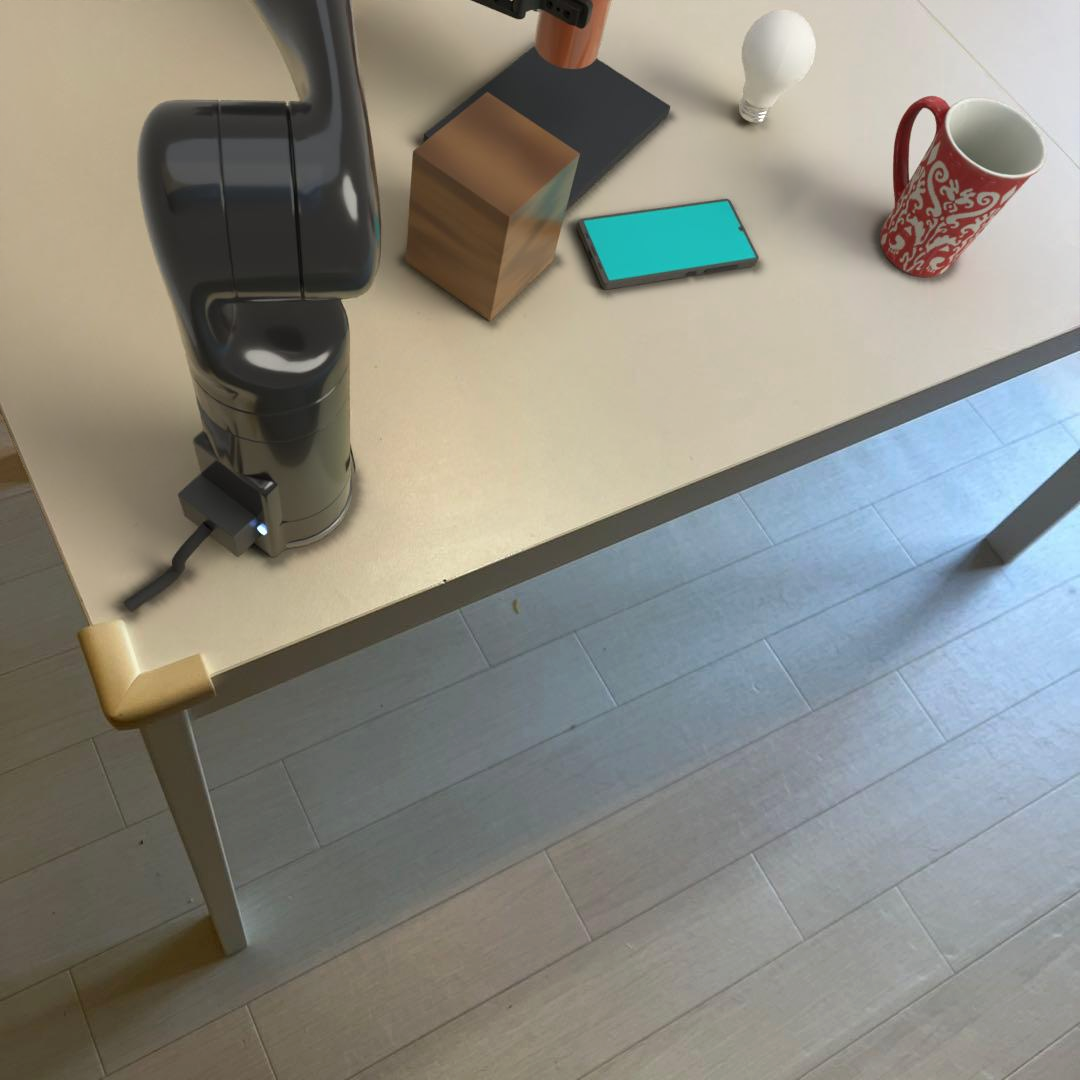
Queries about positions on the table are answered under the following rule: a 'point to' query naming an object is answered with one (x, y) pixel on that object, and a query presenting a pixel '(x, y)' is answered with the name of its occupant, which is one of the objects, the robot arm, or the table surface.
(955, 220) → the mug
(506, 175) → the wooden block
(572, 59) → the flower pot
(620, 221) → the smartphone
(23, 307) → the table surface
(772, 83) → the light bulb
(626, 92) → the placemat
